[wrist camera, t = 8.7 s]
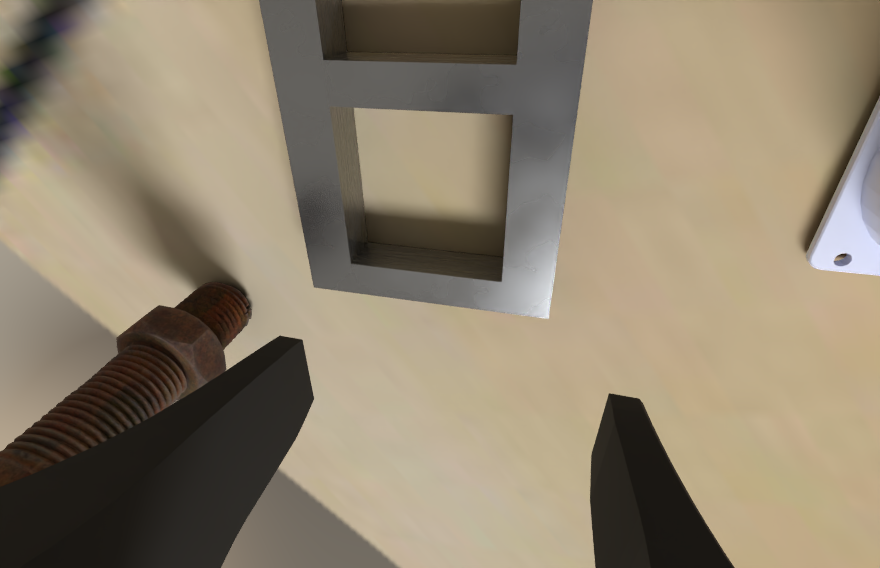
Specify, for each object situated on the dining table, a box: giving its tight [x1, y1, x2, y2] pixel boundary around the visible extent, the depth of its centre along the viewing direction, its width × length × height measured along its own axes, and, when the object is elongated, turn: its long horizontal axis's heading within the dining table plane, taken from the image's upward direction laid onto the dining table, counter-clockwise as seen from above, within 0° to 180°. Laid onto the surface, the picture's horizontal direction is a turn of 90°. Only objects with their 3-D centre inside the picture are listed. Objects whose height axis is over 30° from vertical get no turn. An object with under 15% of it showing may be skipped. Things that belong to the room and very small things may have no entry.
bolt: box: [0, 282, 252, 487], centre depth 20 cm, size 6×5×15 cm
